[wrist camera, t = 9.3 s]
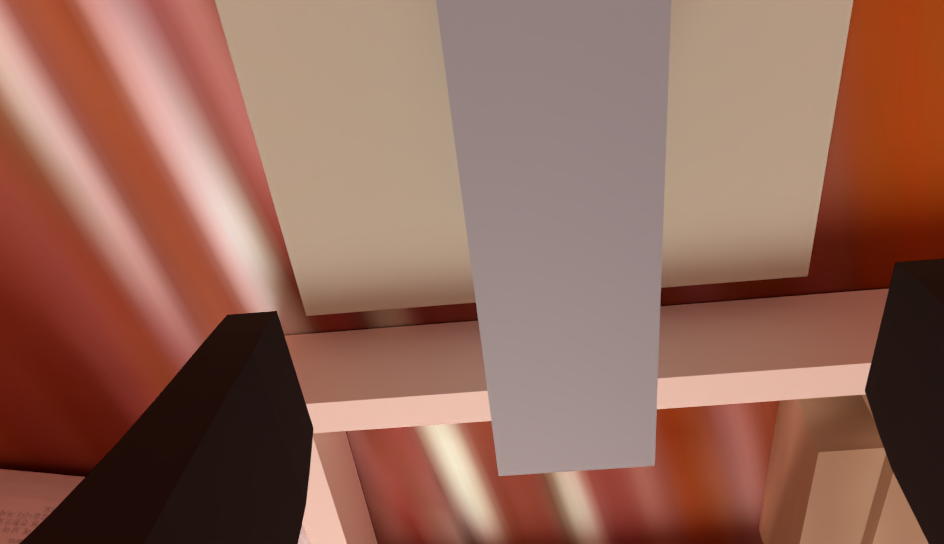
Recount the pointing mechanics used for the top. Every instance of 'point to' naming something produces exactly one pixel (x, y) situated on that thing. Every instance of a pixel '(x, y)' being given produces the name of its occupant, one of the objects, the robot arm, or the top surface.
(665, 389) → the rack
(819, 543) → the offcut stack
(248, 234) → the top surface
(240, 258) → the top surface
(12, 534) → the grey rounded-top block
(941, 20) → the top surface
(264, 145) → the mat
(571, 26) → the grey flat block
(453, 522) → the top surface
